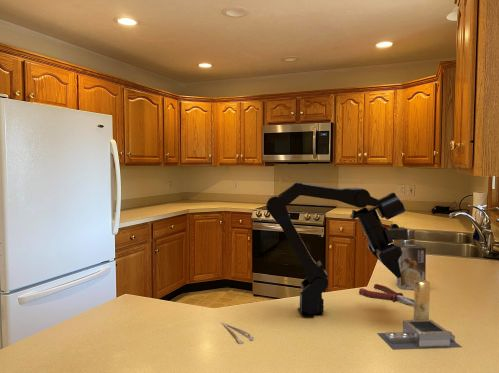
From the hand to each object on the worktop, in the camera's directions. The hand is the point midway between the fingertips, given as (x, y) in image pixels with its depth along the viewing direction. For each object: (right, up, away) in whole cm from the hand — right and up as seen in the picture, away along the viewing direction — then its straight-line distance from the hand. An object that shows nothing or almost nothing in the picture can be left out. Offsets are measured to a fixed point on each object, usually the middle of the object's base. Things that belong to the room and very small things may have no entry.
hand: (395, 273), depth 109 cm
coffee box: (+18, -13, +30) cm, 37 cm away
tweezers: (-49, -14, -9) cm, 52 cm away
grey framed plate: (0, -13, -15) cm, 20 cm away
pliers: (+4, -14, +17) cm, 22 cm away
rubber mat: (0, -14, -15) cm, 21 cm away
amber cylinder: (+6, -14, -4) cm, 15 cm away
